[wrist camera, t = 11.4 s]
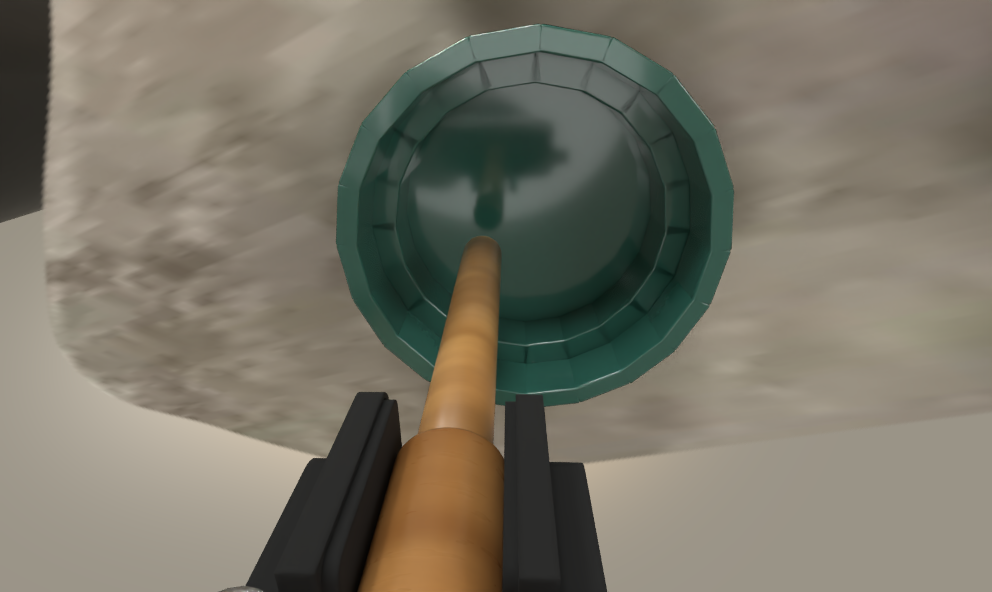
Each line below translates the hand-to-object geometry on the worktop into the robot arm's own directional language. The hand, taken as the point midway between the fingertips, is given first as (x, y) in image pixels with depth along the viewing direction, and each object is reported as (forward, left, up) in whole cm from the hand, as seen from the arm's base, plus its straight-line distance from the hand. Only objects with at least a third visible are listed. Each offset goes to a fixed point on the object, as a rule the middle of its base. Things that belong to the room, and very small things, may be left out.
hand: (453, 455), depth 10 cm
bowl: (+1, +2, -15) cm, 16 cm away
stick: (0, 0, -13) cm, 13 cm away
